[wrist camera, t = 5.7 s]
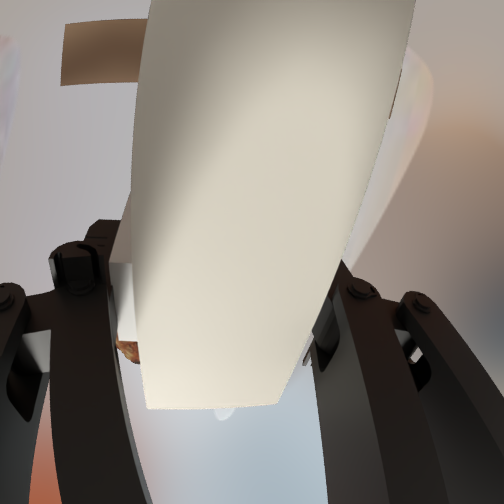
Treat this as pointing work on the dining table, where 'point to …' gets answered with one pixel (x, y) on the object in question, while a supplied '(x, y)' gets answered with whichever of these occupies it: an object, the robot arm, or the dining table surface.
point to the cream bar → (250, 182)
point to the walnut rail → (106, 52)
